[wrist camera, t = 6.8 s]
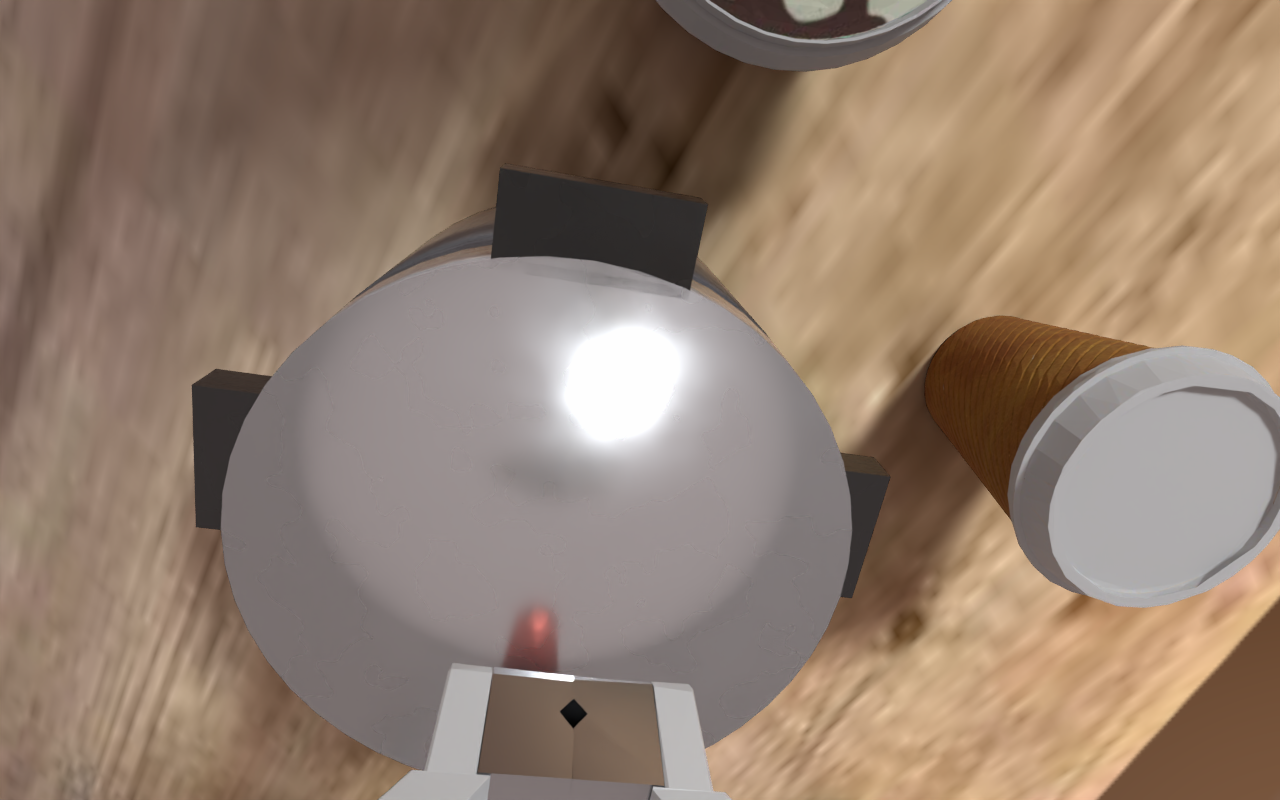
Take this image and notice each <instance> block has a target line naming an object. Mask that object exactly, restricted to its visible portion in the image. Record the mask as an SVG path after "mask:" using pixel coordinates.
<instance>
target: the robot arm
mask: <svg viewBox="0 0 1280 800" xmlns="http://www.w3.org/2000/svg"><path fill="white" fill-rule="evenodd" d="M492 675H493V678H492ZM378 800H732V799H731V798H730V797H729V796H728V795H727V794H726V793H725V792H714V791H713V787H712V782H711V777H710V772H709V767H708V762H707V757H706V752H705V746H704V741H703V736H702V731H701V726H700V721H699V716H698V711H697V706H696V701H695V696H694V691H693V689H692V688H691V686H690V685H689V684H680V683H666V682H650V683H649V682H642V681H629V680H617V679H605V678H593V677H581V676H570V675H561V674H553V673H544V672H535V671H526V670H518V669H509V668H500V667H494V673H493V668H492V667H485V666H476V665H467V664H458V663H452V665H451V667H450V669H449V671H448V675H447V679H446V683H445V687H444V691H443V695H442V699H441V704H440V708H439V712H438V716H437V720H436V724H435V728H434V732H433V737H432V741H431V745H430V749H429V753H428V757H427V761H426V765H425V769H424V771H421V770H410V771H409V772H408V773H407V774H406V775H405V776H404V777H403V778H401V779H400V780H399V781H398V782H397V783H396V784H395V785H394V786H392V787H391V788H390V789H389V790H388V791H387V792H386V793H385V794H384V795H382V796H381V797H380V798H379V799H378Z"/></svg>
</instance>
